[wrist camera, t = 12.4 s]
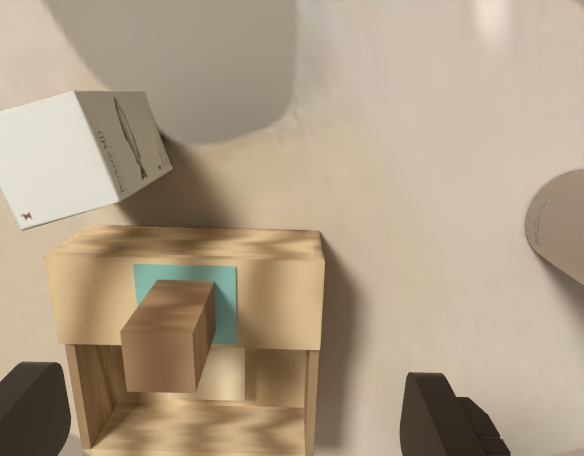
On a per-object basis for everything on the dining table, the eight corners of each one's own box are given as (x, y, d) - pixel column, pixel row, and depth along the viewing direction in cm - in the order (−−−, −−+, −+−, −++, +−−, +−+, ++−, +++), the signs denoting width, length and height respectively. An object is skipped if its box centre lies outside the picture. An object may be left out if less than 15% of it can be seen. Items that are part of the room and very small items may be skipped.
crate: (319, 230, 40) (325, 263, 33) (310, 408, 47) (313, 470, 39) (89, 224, 40) (42, 256, 33) (113, 403, 47) (78, 464, 39)
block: (214, 281, 33) (192, 333, 26) (215, 330, 35) (195, 393, 27) (157, 279, 33) (120, 331, 26) (161, 329, 35) (126, 391, 27)
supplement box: (176, 170, 39) (122, 206, 27) (101, 190, 39) (15, 234, 27) (147, 88, 36) (74, 87, 24) (68, 110, 37) (-41, 121, 25)
